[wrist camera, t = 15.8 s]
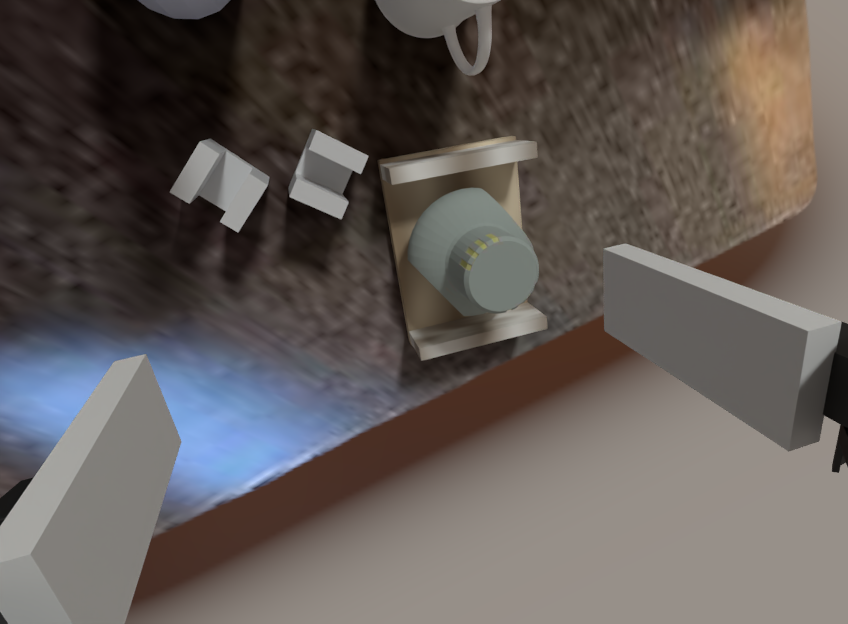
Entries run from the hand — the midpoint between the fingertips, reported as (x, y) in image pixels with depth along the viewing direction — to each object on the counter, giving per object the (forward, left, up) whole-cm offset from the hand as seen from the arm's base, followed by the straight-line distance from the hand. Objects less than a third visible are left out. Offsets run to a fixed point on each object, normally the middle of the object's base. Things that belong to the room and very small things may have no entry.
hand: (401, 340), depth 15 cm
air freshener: (+11, -6, -30) cm, 32 cm away
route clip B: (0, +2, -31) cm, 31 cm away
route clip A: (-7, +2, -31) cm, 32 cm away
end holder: (+11, -6, -31) cm, 33 cm away
